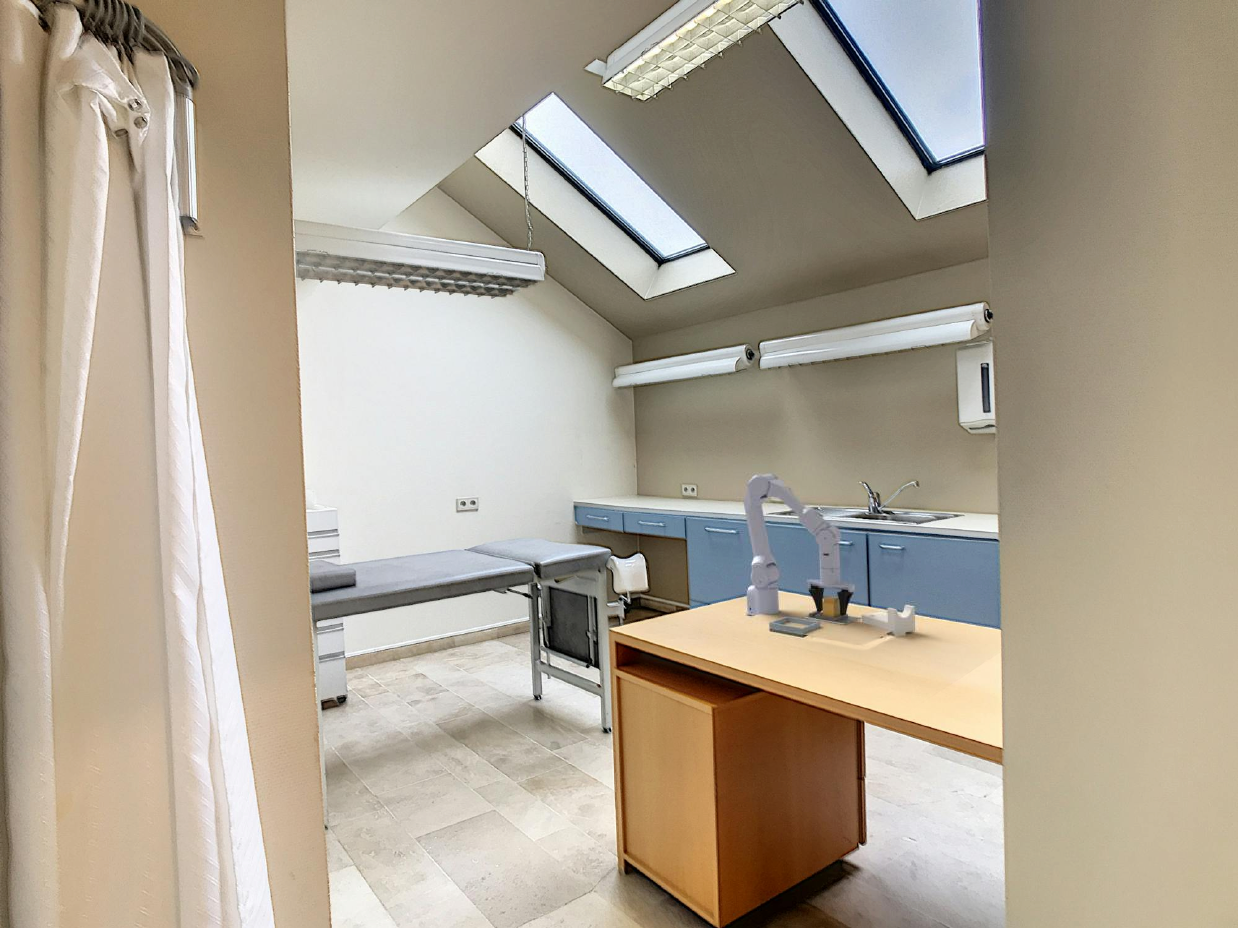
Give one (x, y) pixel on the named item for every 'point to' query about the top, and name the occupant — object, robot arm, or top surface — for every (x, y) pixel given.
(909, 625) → the bracket
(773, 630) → the parts tray
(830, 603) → the block
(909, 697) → the top surface
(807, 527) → the robot arm
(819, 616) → the grey socket base
